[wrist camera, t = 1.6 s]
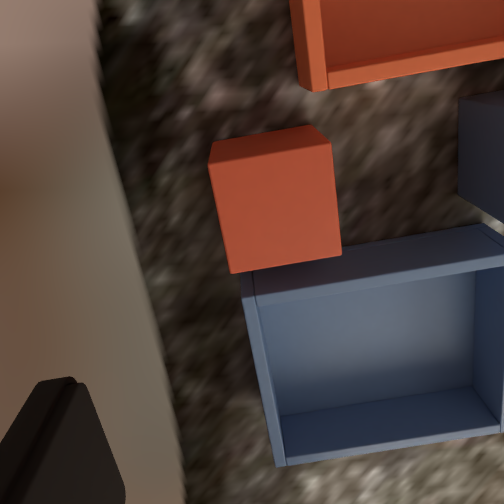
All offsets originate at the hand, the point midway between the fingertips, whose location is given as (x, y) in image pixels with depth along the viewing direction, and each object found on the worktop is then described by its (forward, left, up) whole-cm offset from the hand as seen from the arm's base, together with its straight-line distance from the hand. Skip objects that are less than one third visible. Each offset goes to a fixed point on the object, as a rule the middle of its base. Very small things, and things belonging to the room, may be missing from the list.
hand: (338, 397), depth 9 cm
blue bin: (+4, -8, -14) cm, 17 cm away
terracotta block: (0, +1, -14) cm, 14 cm away
